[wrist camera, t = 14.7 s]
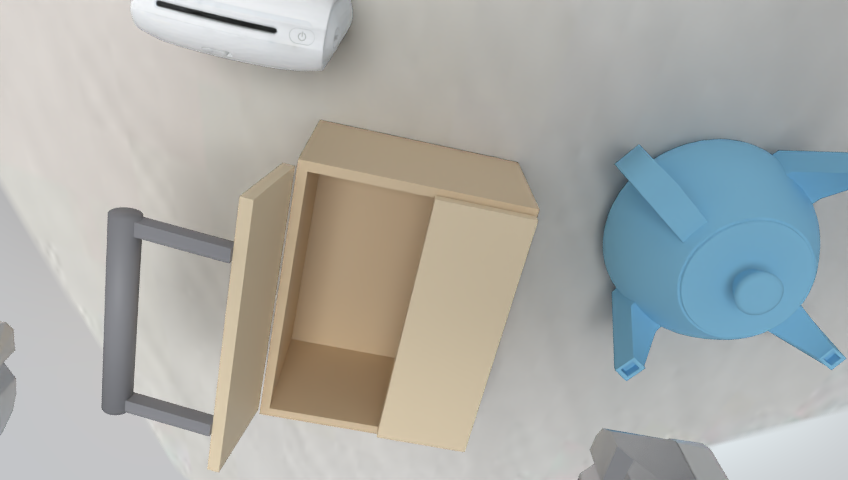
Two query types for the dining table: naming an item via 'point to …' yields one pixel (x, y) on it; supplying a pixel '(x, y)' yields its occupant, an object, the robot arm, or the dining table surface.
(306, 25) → the photo printer
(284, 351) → the carton
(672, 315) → the teapot
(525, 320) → the dining table surface
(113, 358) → the far flap
